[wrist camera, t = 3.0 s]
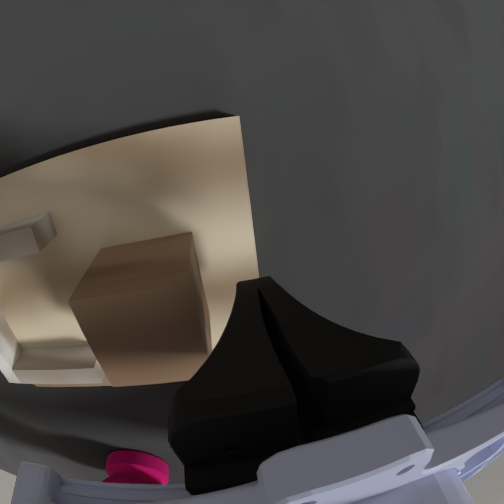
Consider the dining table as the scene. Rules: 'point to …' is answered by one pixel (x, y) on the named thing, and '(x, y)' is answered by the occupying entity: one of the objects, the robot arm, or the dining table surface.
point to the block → (145, 311)
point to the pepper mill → (135, 468)
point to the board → (115, 235)
